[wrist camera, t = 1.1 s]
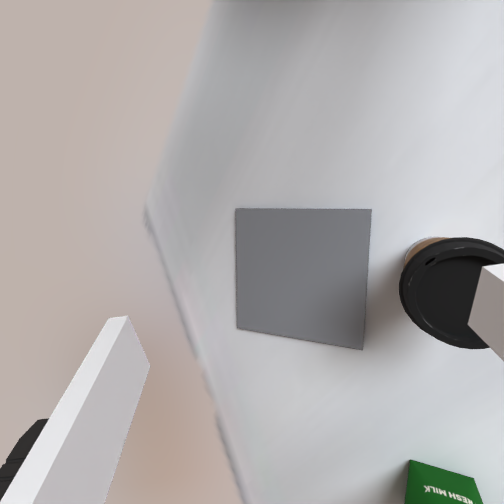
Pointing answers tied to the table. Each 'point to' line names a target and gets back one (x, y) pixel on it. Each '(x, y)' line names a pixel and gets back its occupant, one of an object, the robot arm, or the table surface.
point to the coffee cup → (446, 286)
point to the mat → (303, 273)
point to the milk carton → (439, 486)
